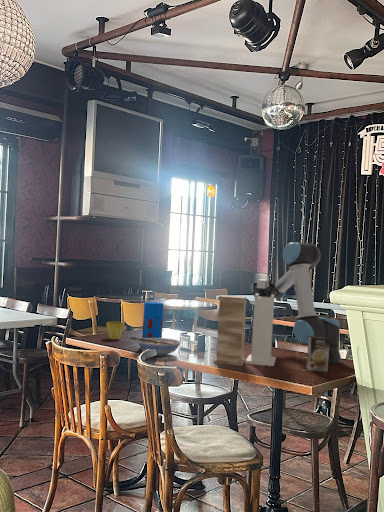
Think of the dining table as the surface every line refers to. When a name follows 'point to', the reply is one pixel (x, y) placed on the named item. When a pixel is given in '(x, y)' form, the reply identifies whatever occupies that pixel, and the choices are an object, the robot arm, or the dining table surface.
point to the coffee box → (318, 353)
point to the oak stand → (231, 330)
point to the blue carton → (152, 320)
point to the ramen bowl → (158, 345)
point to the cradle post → (262, 332)
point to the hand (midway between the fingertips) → (263, 278)
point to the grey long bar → (262, 283)
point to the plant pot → (115, 329)
